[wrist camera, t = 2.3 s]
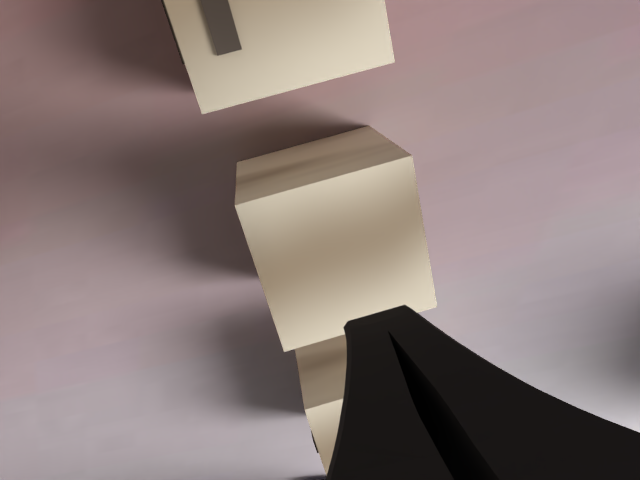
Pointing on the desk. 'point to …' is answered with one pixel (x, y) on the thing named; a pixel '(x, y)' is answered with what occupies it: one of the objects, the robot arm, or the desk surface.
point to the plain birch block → (334, 233)
